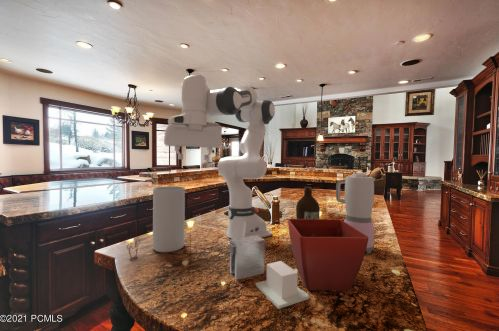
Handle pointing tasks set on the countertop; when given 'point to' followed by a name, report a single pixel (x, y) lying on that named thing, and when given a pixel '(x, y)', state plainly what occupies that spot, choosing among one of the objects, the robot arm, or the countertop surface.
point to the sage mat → (279, 301)
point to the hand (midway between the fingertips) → (193, 159)
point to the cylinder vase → (168, 218)
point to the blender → (359, 204)
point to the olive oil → (307, 206)
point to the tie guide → (247, 257)
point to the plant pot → (327, 252)
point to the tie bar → (232, 248)
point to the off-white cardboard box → (282, 279)
